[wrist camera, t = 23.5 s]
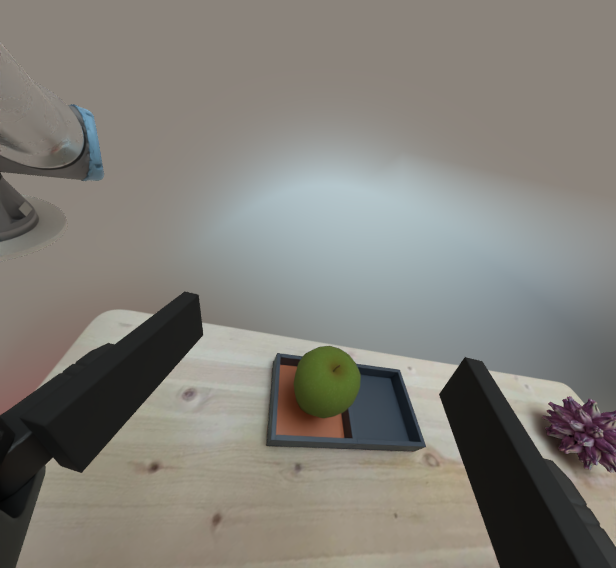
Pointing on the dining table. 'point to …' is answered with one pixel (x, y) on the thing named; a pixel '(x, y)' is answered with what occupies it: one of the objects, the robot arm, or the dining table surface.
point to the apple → (326, 382)
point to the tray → (345, 413)
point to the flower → (585, 432)
